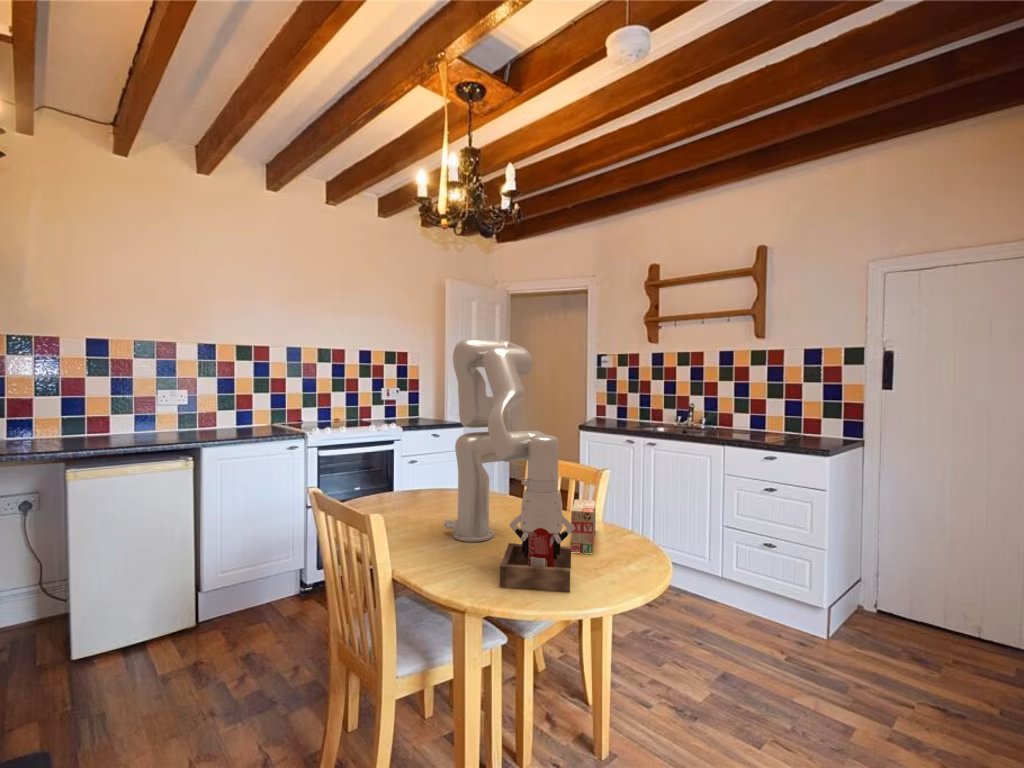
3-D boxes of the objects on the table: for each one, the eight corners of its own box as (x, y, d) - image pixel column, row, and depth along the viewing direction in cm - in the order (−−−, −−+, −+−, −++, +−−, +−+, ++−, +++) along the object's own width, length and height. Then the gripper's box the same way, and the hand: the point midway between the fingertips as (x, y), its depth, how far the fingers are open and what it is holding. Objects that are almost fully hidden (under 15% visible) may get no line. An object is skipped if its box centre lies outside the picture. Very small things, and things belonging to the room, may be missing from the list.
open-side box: (499, 587, 121) (499, 566, 121) (508, 561, 137) (508, 543, 137) (569, 592, 119) (570, 570, 119) (570, 565, 135) (571, 546, 135)
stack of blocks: (575, 529, 165) (576, 491, 165) (595, 531, 164) (596, 493, 164) (570, 553, 144) (571, 509, 144) (592, 555, 143) (593, 511, 143)
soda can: (546, 576, 123) (547, 526, 123) (522, 569, 127) (523, 521, 126) (559, 567, 129) (560, 519, 129) (535, 561, 133) (536, 515, 132)
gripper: (505, 487, 125) (504, 559, 125) (577, 490, 122) (576, 564, 123) (509, 480, 132) (508, 548, 133) (577, 483, 130) (576, 553, 131)
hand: (541, 555), depth 128 cm, fingers closed on soda can, 6 cm apart
